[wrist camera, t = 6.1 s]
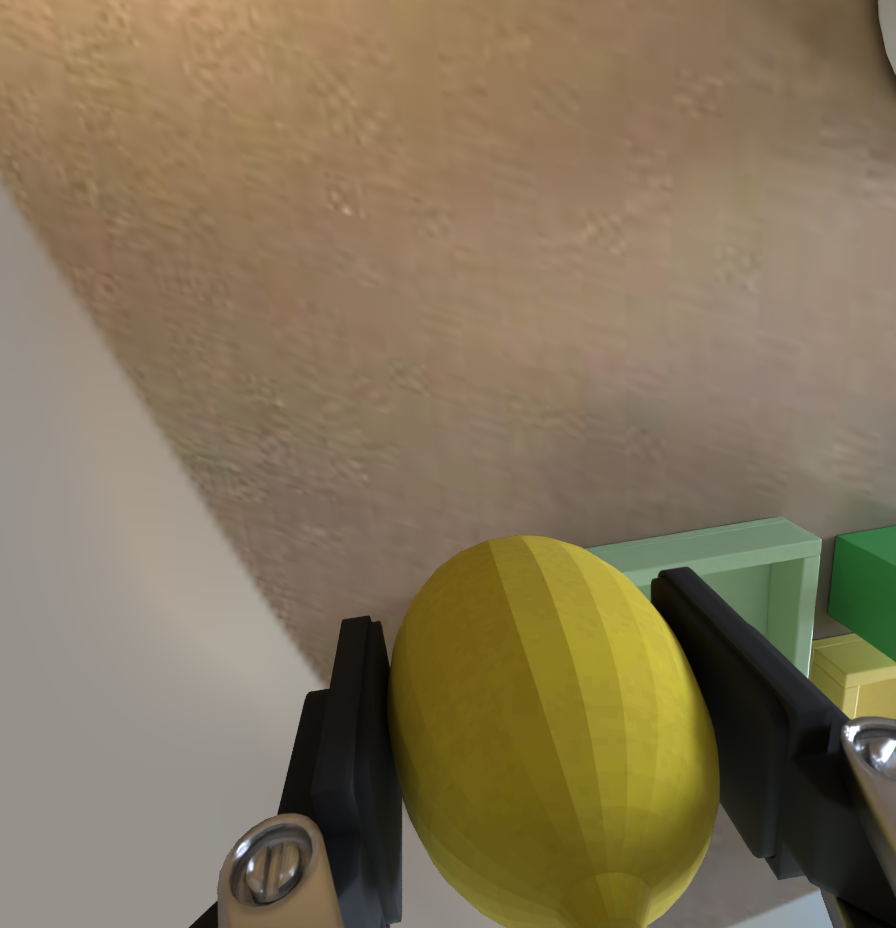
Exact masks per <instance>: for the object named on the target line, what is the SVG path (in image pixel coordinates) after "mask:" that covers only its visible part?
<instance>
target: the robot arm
mask: <svg viewBox="0 0 896 928" xmlns="http://www.w3.org/2000/svg"><path fill="white" fill-rule="evenodd" d="M878 12H879V21H880V26H881V31H882V35H883V40H884V45H885V49H886V53H887V56H888V58H889V61H890V63H891V65H892V68H893V70H894V72H895V75H896V0H878ZM651 604H652V605H653V606H654V607H655V608H656V609H657V611H658V612H659V613H660V614H661V615H662V616H663V618H664V619H665V620H666V622H667V623H668V625H669V626H670V628H671V629H672V631H673V632H674V634H675V636H676V638H677V639H678V641H679V643H680V645H681V647H682V649H683V651H684V653H685V655H686V658H687V660H688V662H689V664H690V666H691V669H692V671H693V673H694V676H695V678H696V680H697V683H698V685H699V687H700V690H701V692H702V695H703V697H704V700H705V703H706V705H707V708H708V711H709V714H710V718H711V721H712V724H713V728H714V732H715V738H716V744H717V750H718V762H719V776H720V803H721V805H722V806H723V808H724V809H725V811H726V813H727V814H728V816H729V817H730V819H731V821H732V822H733V824H734V826H735V827H736V829H737V830H738V832H739V834H740V835H741V837H742V838H743V840H744V842H745V843H746V845H747V846H748V848H749V850H750V851H751V852H752V854H753V855H754V856H755V857H757V858H765V860H766V861H767V863H768V864H769V866H770V868H771V869H772V871H773V872H774V874H775V875H776V877H777V879H778V880H782V879H787V878H793V877H798V876H804V875H806V877H807V878H808V880H809V881H810V883H812V884H814V885H816V886H818V887H820V890H821V895H822V897H823V900H824V903H825V905H826V908H827V911H828V914H829V917H830V920H831V922H832V925H833V928H896V719H890V718H885V717H879V716H861V717H858V718H855V719H852V720H851V719H850V718H849V717H848V716H847V715H845V714H844V713H843V712H842V711H841V710H840V709H839V708H838V707H837V706H836V705H835V704H834V703H833V702H832V701H831V700H830V699H829V698H828V697H827V696H826V695H825V694H824V693H822V692H821V691H820V690H819V689H818V688H817V687H816V686H815V685H814V684H813V683H812V682H811V681H810V680H809V679H808V678H807V677H806V676H805V675H804V674H803V673H802V672H801V671H800V670H798V669H797V668H796V667H795V666H794V665H793V664H792V663H791V662H790V661H789V660H788V659H787V658H786V657H785V656H784V655H783V654H782V653H781V652H780V651H779V650H778V649H777V648H775V647H774V646H773V645H772V644H771V643H770V642H769V641H768V640H767V639H766V638H765V637H764V636H763V635H762V634H761V633H760V632H759V631H758V630H757V629H756V628H754V627H753V626H751V625H750V624H748V623H747V622H746V621H745V620H744V619H743V618H742V617H741V616H740V615H739V614H738V613H737V612H736V611H735V610H734V609H733V608H732V607H731V606H729V605H728V604H727V603H726V602H725V601H724V600H723V599H722V598H721V597H720V596H719V595H718V594H717V593H716V592H715V591H714V590H713V589H712V588H711V587H710V586H709V585H708V584H707V583H706V582H705V581H704V580H702V579H701V578H700V577H699V576H698V575H697V574H696V573H695V572H694V571H693V570H692V569H691V568H689V567H679V568H673V569H666V570H661V571H660V572H659V574H658V578H654V579H652V581H651ZM389 673H390V666H389V661H388V656H387V650H386V645H385V640H384V635H383V630H382V625H381V622H380V621H377V622H372V621H371V618H370V616H362V617H356V618H349V619H343V620H342V623H341V629H340V634H339V640H338V645H337V651H336V656H335V662H334V667H333V672H332V678H331V683H330V689H324V690H318V691H312V692H309V693H308V694H307V695H306V698H305V702H304V705H303V709H302V714H301V718H300V722H299V726H298V731H297V735H296V739H295V743H294V747H293V751H292V755H291V760H290V764H289V768H288V772H287V776H286V781H285V785H284V789H283V794H282V798H281V801H280V806H279V810H278V814H277V816H274V817H271V818H268V819H265V820H264V821H262V822H261V823H259V824H258V825H256V826H254V827H252V828H251V829H250V830H249V831H248V832H247V833H246V834H244V835H243V836H242V837H241V838H240V839H239V840H238V841H237V842H236V844H235V845H234V847H233V848H232V849H231V851H230V852H229V854H228V855H227V857H226V859H225V861H224V864H223V866H222V869H221V871H220V874H219V881H218V889H217V891H218V892H217V894H218V900H217V902H215V904H213V905H212V906H211V907H210V908H209V909H208V910H207V911H206V912H205V913H204V914H203V915H202V916H201V917H200V918H198V919H197V920H196V921H195V922H194V923H193V924H192V925H191V926H190V927H189V928H390V924H392V923H398V922H401V919H402V793H401V790H400V786H399V783H398V778H397V773H396V768H395V763H394V758H393V752H392V746H391V740H390V735H389V727H388V719H387V689H388V680H389Z"/></svg>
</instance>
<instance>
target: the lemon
mask: <svg viewBox="0 0 896 928" xmlns="http://www.w3.org/2000/svg"><path fill="white" fill-rule="evenodd" d="M387 719H388V727H389V735H390V740H391V746H392V752H393V758H394V763H395V768H396V773H397V778H398V783H399V786H400V790H401V793H402V797H403V800H404V803H405V806H406V809H407V812H408V814H409V817H410V820H411V822H412V824H413V826H414V828H415V830H416V832H417V834H418V836H419V838H420V840H421V842H422V844H423V845H424V847H425V849H426V851H427V853H428V855H429V856H430V858H431V860H432V862H433V864H434V865H435V866H436V868H437V869H438V871H439V872H440V873H441V875H442V876H443V877H444V879H445V880H446V881H447V882H448V883H449V884H450V885H451V886H452V887H453V888H454V889H455V890H456V891H457V892H458V893H459V894H460V895H461V896H463V897H464V898H465V899H466V900H467V901H468V902H469V903H470V904H471V905H472V906H474V907H475V908H476V909H477V910H478V911H479V912H480V913H481V914H483V915H485V916H486V917H488V918H490V919H492V920H493V921H495V922H497V923H499V924H500V925H502V926H504V927H506V928H645V927H646V926H648V925H649V924H650V923H652V922H653V921H655V920H656V919H657V918H659V917H660V916H662V915H663V914H664V913H665V912H666V911H667V910H668V909H669V908H670V907H671V906H672V905H673V904H674V903H675V902H676V901H677V900H678V898H679V897H680V896H681V895H682V893H683V892H684V891H685V889H686V888H687V887H688V885H689V884H690V882H691V880H692V879H693V877H694V875H695V874H696V872H697V870H698V868H699V867H700V865H701V863H702V861H703V858H704V856H705V854H706V852H707V850H708V847H709V844H710V840H711V836H712V832H713V828H714V824H715V819H716V815H717V810H718V806H719V802H720V776H719V762H718V750H717V744H716V738H715V732H714V728H713V724H712V721H711V718H710V714H709V711H708V708H707V705H706V703H705V700H704V697H703V695H702V692H701V690H700V687H699V685H698V683H697V680H696V678H695V676H694V673H693V671H692V669H691V666H690V664H689V662H688V660H687V658H686V655H685V653H684V651H683V649H682V647H681V645H680V643H679V641H678V639H677V638H676V636H675V634H674V632H673V631H672V629H671V628H670V626H669V625H668V623H667V622H666V620H665V619H664V618H663V616H662V615H661V614H660V613H659V612H658V611H657V609H656V608H655V607H654V606H653V605H652V604H651V602H650V601H649V600H648V599H647V598H646V597H645V596H644V595H643V594H642V592H641V591H640V590H639V589H638V588H637V587H636V586H635V585H634V584H633V583H632V582H631V581H630V580H629V579H628V578H627V577H626V576H625V575H624V574H623V573H621V572H620V571H619V570H617V569H616V568H615V567H613V566H611V565H610V564H608V563H607V562H605V561H603V560H602V559H600V558H598V557H597V556H595V555H594V554H592V553H590V552H589V551H587V550H585V549H583V548H581V547H579V546H576V545H572V544H569V543H566V542H562V541H559V540H556V539H553V538H549V537H545V536H524V535H514V536H509V537H503V538H498V539H493V540H487V541H485V542H483V543H480V544H478V545H475V546H473V547H471V548H468V549H466V550H464V551H461V552H460V553H458V554H457V555H456V556H454V557H453V558H451V559H450V560H449V561H447V562H446V563H445V564H443V565H442V566H441V567H439V568H438V569H437V570H436V571H435V572H434V574H433V575H432V576H431V577H430V578H429V580H428V581H427V582H426V583H425V584H424V586H423V587H422V588H421V589H420V590H419V592H418V593H417V594H416V595H415V597H414V599H413V601H412V603H411V605H410V607H409V609H408V611H407V613H406V616H405V618H404V620H403V622H402V624H401V626H400V628H399V631H398V633H397V636H396V640H395V643H394V648H393V653H392V660H391V667H390V673H389V680H388V689H387Z"/></svg>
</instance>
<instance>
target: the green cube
mask: <svg viewBox="0 0 896 928" xmlns="http://www.w3.org/2000/svg"><path fill="white" fill-rule="evenodd" d="M828 614H829V615H830V616H831V617H833V618H834V619H835V620H837V621H838V622H840V623H841V624H843V625H844V626H845V627H847V628H848V629H850V630H851V631H852V632H854V633H855V634H857V635H858V636H859V637H861V638H862V639H864V640H865V641H866V642H868V643H869V644H871V645H872V646H873V647H875V648H876V649H878V650H879V651H881V652H882V653H883V654H885V655H886V656H888V657H889V658H890V659H892V660H893V661H895V662H896V526H892V527H886V528H880V529H874V530H868V531H862V532H856V533H850V534H844V535H838V536H836V543H835V552H834V561H833V570H832V579H831V588H830V597H829V606H828Z"/></svg>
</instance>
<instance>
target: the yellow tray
mask: <svg viewBox="0 0 896 928" xmlns="http://www.w3.org/2000/svg"><path fill="white" fill-rule="evenodd" d="M808 679H809V680H810V681H811V682H812V683H813V684H814V685H815V686H816V687H817V688H818V689H819V690H820V691H821V692H822V693H824V694H825V695H826V696H827V697H828V698H829V699H830V700H831V701H832V702H833V703H834V704H835V705H836V706H837V707H838V708H839V709H840V710H841V711H842V712H843V713H844V714H845V715H847V716H848V717H849V718H850V719H851V720H852V719H855V718H858V717H861V716H879V717H885V718H890V719H896V662H895V661H893V660H892V659H890V658H889V657H888V656H886V655H885V654H883V653H882V652H881V651H879V650H878V649H876V648H875V647H873V646H872V645H871V644H869V643H868V642H866V641H865V640H864V639H862V638H861V637H859V636H858V635H857V634H855V633H853V634H847V635H842V636H836V637H830V638H825V639H819V640H814V641H812V643H811V653H810V663H809V673H808Z"/></svg>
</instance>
